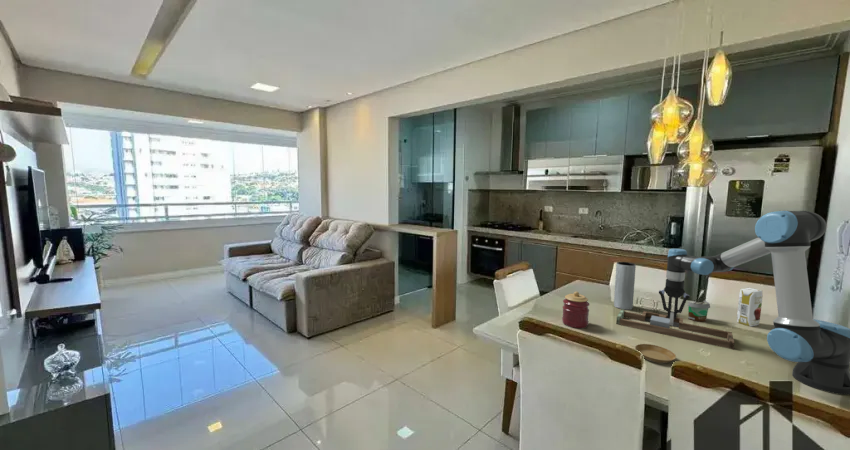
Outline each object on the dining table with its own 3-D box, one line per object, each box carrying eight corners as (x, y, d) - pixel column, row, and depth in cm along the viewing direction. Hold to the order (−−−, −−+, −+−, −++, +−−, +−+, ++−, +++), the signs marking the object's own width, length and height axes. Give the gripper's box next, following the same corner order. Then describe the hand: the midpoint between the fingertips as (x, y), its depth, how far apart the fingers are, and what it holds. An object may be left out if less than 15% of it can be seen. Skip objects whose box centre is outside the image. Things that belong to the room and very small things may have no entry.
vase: (610, 305, 213) (612, 262, 210) (622, 303, 216) (625, 261, 213) (623, 310, 204) (626, 265, 201) (636, 308, 207) (639, 264, 204)
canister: (593, 326, 180) (595, 293, 178) (575, 330, 176) (576, 296, 174) (574, 317, 192) (576, 287, 190) (556, 321, 188) (558, 289, 186)
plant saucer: (677, 356, 148) (678, 351, 148) (673, 370, 138) (673, 363, 137) (638, 346, 158) (638, 340, 158) (631, 357, 147) (631, 352, 147)
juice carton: (734, 322, 187) (737, 288, 185) (744, 320, 190) (747, 286, 188) (751, 327, 180) (755, 292, 178) (761, 325, 183) (765, 290, 181)
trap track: (733, 349, 155) (734, 340, 154) (616, 323, 184) (616, 316, 183) (729, 333, 173) (730, 325, 172) (623, 312, 201) (623, 305, 201)
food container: (697, 323, 184) (699, 305, 183) (686, 319, 190) (687, 302, 189) (714, 321, 188) (716, 303, 187) (702, 317, 194) (704, 300, 192)
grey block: (668, 333, 172) (669, 323, 172) (649, 329, 177) (650, 319, 177) (669, 328, 179) (670, 318, 178) (651, 324, 184) (651, 315, 183)
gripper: (691, 280, 171) (687, 325, 174) (660, 275, 179) (656, 319, 182) (691, 283, 166) (687, 330, 168) (658, 278, 174) (655, 323, 176)
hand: (671, 324), depth 175 cm, fingers closed
